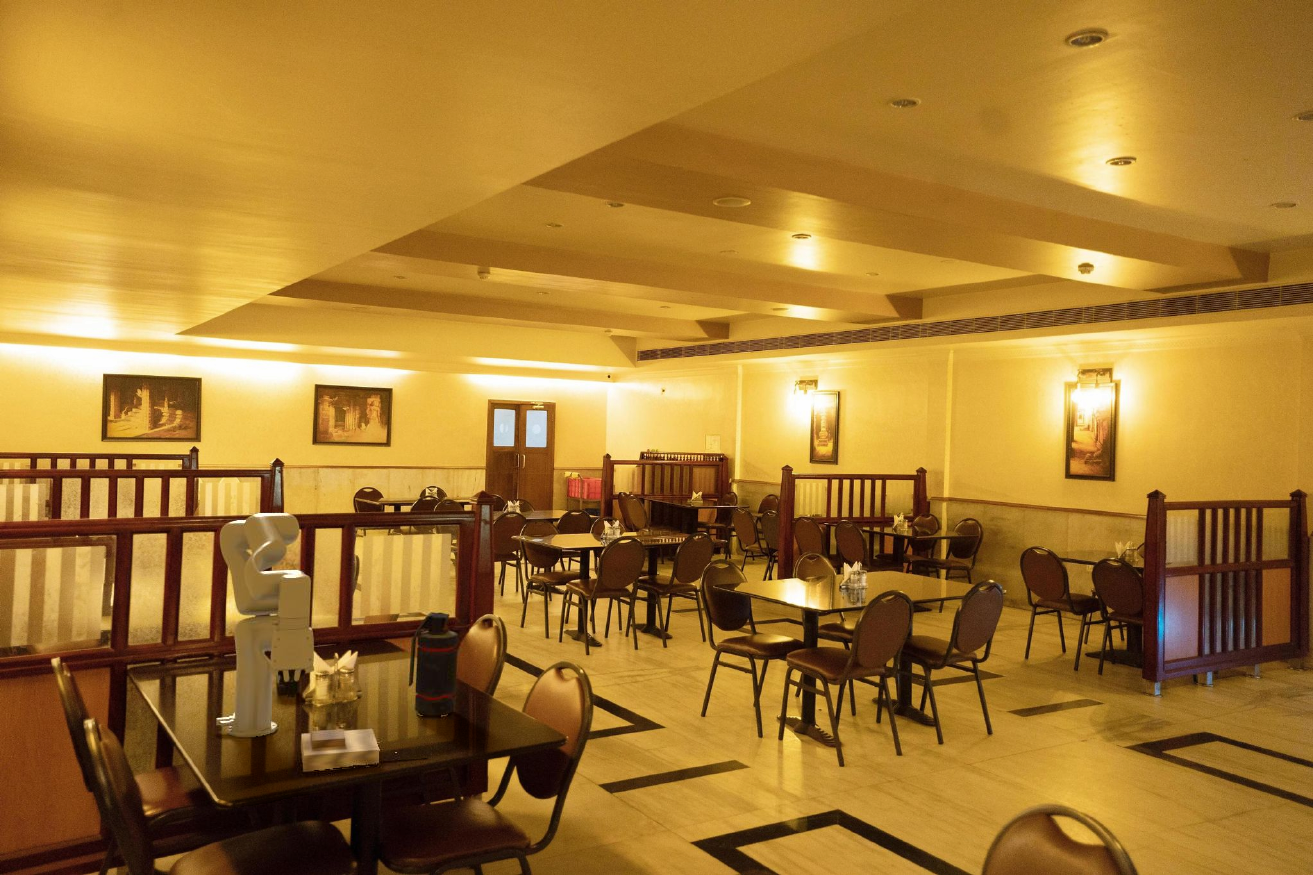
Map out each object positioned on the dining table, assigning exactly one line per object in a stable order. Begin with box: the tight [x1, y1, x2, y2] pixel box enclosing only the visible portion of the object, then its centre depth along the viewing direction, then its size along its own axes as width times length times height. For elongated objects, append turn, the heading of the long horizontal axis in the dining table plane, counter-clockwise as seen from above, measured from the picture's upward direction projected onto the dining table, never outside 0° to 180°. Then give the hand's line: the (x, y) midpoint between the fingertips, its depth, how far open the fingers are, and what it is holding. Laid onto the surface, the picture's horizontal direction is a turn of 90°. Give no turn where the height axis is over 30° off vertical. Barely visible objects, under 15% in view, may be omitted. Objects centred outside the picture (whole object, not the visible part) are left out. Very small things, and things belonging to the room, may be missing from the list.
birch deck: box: [300, 728, 380, 773], centre depth 249 cm, size 18×18×4 cm
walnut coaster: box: [310, 728, 345, 749], centre depth 248 cm, size 8×8×2 cm
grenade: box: [408, 611, 459, 716], centre depth 292 cm, size 14×12×30 cm
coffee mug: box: [275, 670, 302, 696], centre depth 308 cm, size 12×9×10 cm
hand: (290, 695), depth 244 cm, fingers closed
